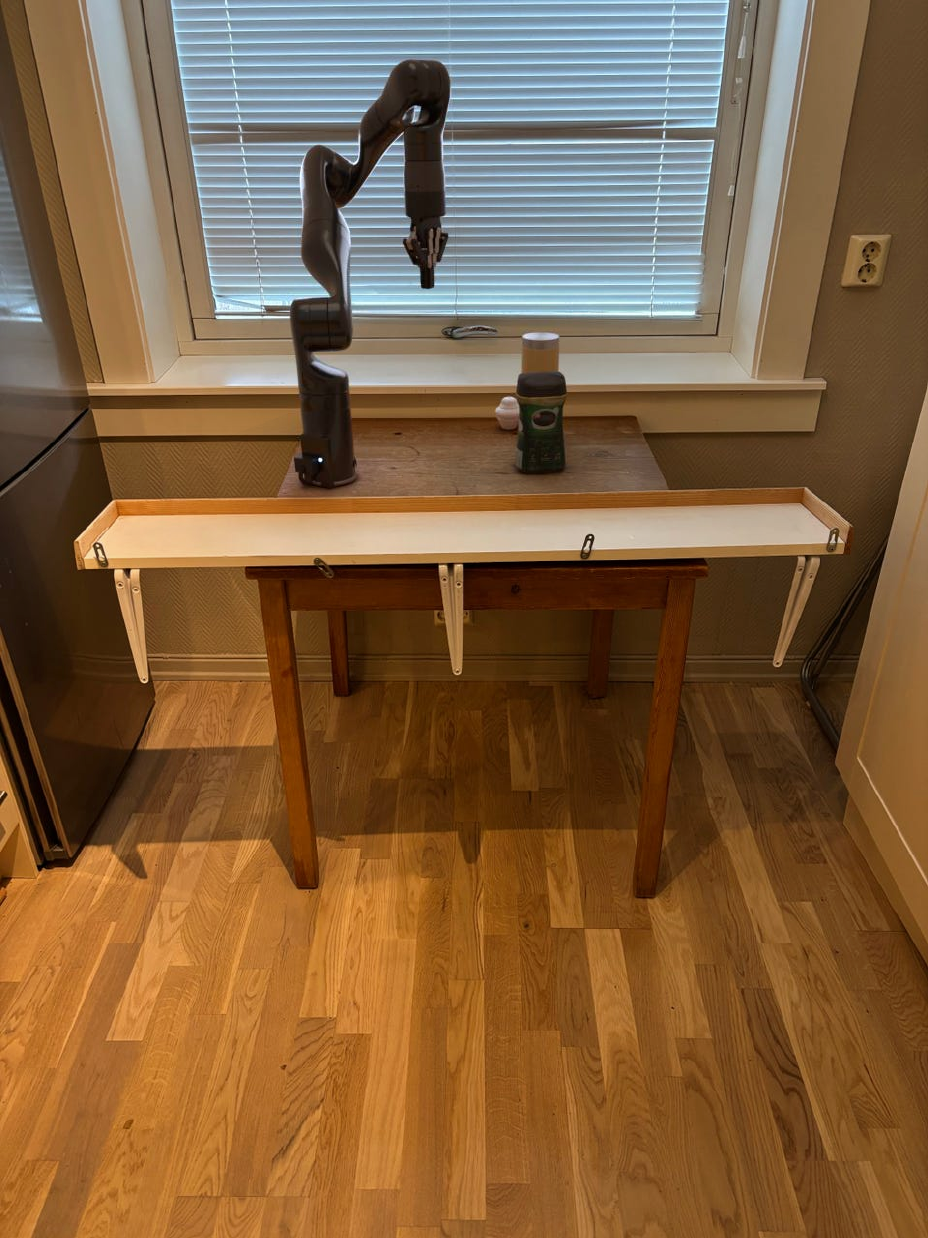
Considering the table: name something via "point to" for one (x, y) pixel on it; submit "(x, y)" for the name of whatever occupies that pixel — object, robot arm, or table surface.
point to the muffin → (508, 413)
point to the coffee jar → (540, 422)
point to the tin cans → (540, 352)
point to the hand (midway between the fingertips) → (427, 287)
